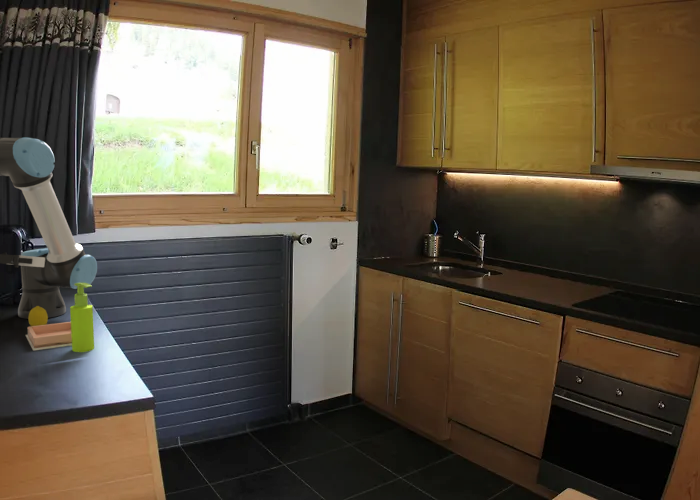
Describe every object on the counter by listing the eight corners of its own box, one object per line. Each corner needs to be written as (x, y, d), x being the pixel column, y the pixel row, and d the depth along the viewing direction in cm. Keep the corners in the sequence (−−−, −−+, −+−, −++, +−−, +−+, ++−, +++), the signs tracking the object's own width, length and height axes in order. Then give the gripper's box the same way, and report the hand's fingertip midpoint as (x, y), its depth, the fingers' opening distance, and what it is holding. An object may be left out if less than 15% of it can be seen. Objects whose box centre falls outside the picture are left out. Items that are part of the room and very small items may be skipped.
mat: (25, 336, 192) (25, 335, 192) (77, 330, 201) (77, 328, 201) (33, 352, 178) (33, 350, 178) (89, 344, 186) (89, 342, 186)
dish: (28, 336, 191) (27, 326, 190) (77, 330, 199) (76, 320, 198) (34, 348, 179) (33, 338, 179) (86, 341, 187) (85, 331, 187)
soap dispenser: (82, 356, 175) (79, 286, 172) (67, 351, 179) (64, 283, 176) (101, 350, 180) (98, 282, 177) (86, 346, 184) (83, 280, 181)
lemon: (40, 333, 197) (39, 308, 195) (25, 332, 198) (23, 307, 196) (52, 328, 202) (50, 304, 201) (37, 327, 203) (35, 303, 202)
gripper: (-59, 267, 173) (25, 273, 187) (-44, 270, 154) (48, 276, 168) (-55, 240, 174) (28, 248, 187) (-40, 240, 155) (51, 249, 168)
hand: (38, 262), depth 178 cm, fingers open, 13 cm apart
